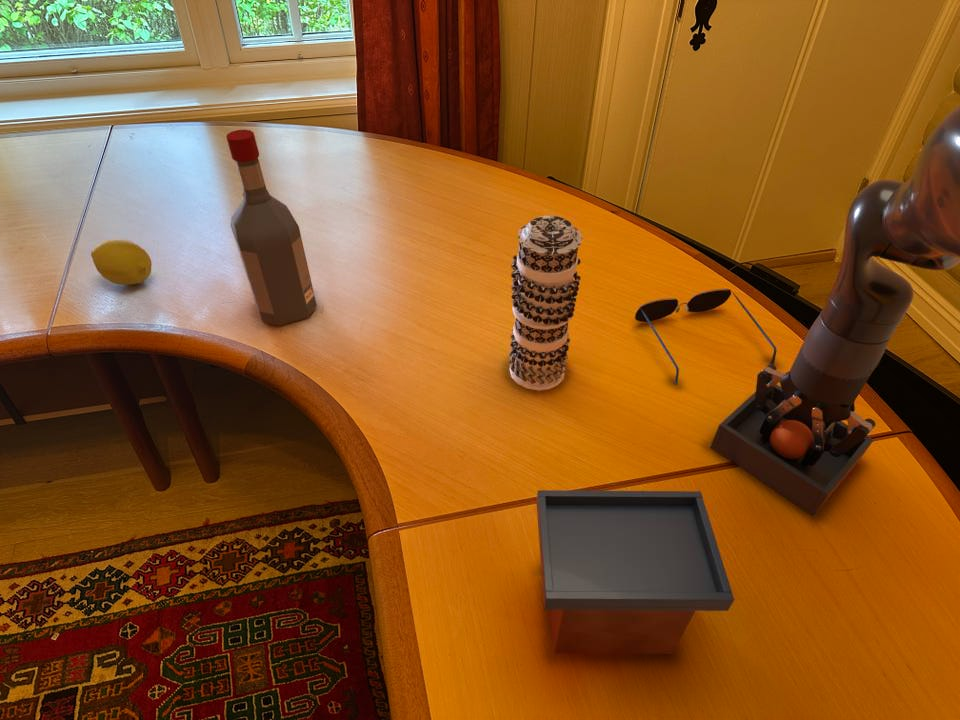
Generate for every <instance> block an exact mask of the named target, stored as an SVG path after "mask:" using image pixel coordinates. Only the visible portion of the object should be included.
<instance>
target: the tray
mask: <svg viewBox="0 0 960 720" xmlns="http://www.w3.org/2000/svg"><path fill="white" fill-rule="evenodd" d="M535 501H536V502H535V503H536V516H537V530H538V542H539V543H538V544H539V557H540V558H539V559H540V572H541V583H542V584H541V587H542V595H543V596H542V599H543V610H544V611H545V610H547V611H551V610H661V611H695V612H728V611H729V610H730V608H731V607H732V605H733V603H734V602H735V596H734V594H733V590H732V588H731V584H730V581H729V578H728V574H727V571H726V568H725V564H724V562H723V558H722V555H721V552H720V548H719V545H718V542H717V540H716V539H717V538H716V536H715V533H714V529H713V527H712V524H711V519H710V517H709V514H708V510H707V507H706V504H705V500H704V498H703V494H702V491H701V490H699V491H698V490H697V491H695V490H692V491H691V490H574V489H573V490H571V489H570V490H561V489H560V490H558V489H557V490H554V489H552V490H550V489H549V490H548V489H547V490H546V489H539V490H538V489H537V493H536V500H535Z"/></svg>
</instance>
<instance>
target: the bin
mask: <svg viewBox="0 0 960 720" xmlns="http://www.w3.org/2000/svg"><path fill="white" fill-rule="evenodd" d="M755 394H756V391H754V392H753V393H752V394H751V395H750V396H748V398H747V399H745V400H744V401H743V402H742V403H741V404H740V405H739V406H738V407H736V409H734V410H733V411H732V412H731V413H730V414H729V415H728V416H727V417H726V418H724V420H722V421H721V422H720V423H719V425H718V427H717V429H716V432H715V434H714V437H713V439H712V441H711V443H710V446H709V447H710V448H711V449H713V450H714V451H716V452H717V453H718V454H720V455H721V456H723V457H724V458H725V459H727V460H729V461H730V462H732V464H735V465H736V466H738V467H739V468H741V469H742V470H744V471H745V472H747V473H748V474H750V475H751V476H753V477H754V478H755V479H757V480H758V481H760V482H762V483H763V484H765V486H767V487H768V488H771V490H773V491H775V492H776V493H778V494H779V495H780V496H782V497H784V498H785V499H786V500H788V501H790V502H791V503H793V504H794V505H796V506H797V507H798V508H800V509H802V510H803V511H805V512H806V513H808V514H809V515H811V516H812V517H814V516H816V514H817V513H818V512H819V511H820V509H821V508H822V507H823V506H824V505H825V503H826V502H827V501H828V500H829V499H830V497H831V496H832V495H833V493H834V492H835V491H836V490H837V489H838V488H839V486H841V484H842V483H843V482H844V480H845V479H846V478H847V477H848V476H849V474H850V473H851V472H852V471H853V470H854V468H855V467H856V466H857V464H859V462H860V461H861V459H862V458H863V456H864V454H866V452H867V451H868V449H869V448H870V446H871V445H872V443H873V442H874V439H873V438H872V437H870V436H868V435H867V436H866V437H865V438H864V439H862V440H861V441H860V442H858V443H857V444H856V445H854V446H853V447H851V448H850V449H849V450H847V451H846V452H845V453H843V454H842V455H841V456H839V457H833V456H832V455H831V454H830V452H826V451H824V453H823V454H822V456H821V458H820V459H819V460H818V461H817V462H816V464H815V465H813V466H810V465H809V464H808V465H807V466H806V467H805V466H803V465H801V464H800V463H801V462H802V460H803V458H804V457H801V458H798V459H788V458H785V457H782V456H781V455H779V454H778V453H777V452H776V451H775V450H774V449H773V447H772V445H771V442H770V438H769V439H768V440H767V441H766V442H765V441H764V440H762V439H761V437H762V435H761V434H760V428H761V426H762V424H763V422H764V420H765V414H764V413H763V412H762V411H758V410H756V409H755V407H754V404H755ZM784 399H785V398H784V394H783V391H782V388H781V385H778V383H777V384H776V385H775V386H774V394H773V402H774V403H775V404H776V405H777V404H779V403H780V402H781V401H783V400H784ZM786 420H795V421H799V422H801V423H803V424H805V425H806V426H807V427H808V428H809V429H810V431H811V432H812V424H810V423H809V422H807V421H806V420H805V419H804V418H803V417H800V416H797V415H795V414H793V413H792V412H790V411H789V412H788V413H786V414H785V415H783V417H782V419H781V421H780V422H783V421H786ZM847 426H848V423H845V422H844V421H839V422H835V426H834V428H833V438H835V439H838V440H839V439H840V438H842V437H843V436H844V435H846V434H847ZM813 439H814V435H813Z"/></svg>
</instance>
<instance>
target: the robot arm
mask: <svg viewBox="0 0 960 720" xmlns="http://www.w3.org/2000/svg"><path fill="white" fill-rule="evenodd" d="M844 227H845V228H844V238H843V250H842V255H841V261H840V266H839V271H838V273H837V276H836V279H835V282H834V284H833V287H832V289H831V291H830V294H829V295H828V297H827V300H826V302H825V303H824V306H823V308H822V310H821V311H820V313H819V315H818V316H817V318H816V319H815V320H814V322H813V323H812V325H811V327H810V328H809V330H808V332H807V334H806V336H805V339H804V341H803V343H802V345H801V347H800V349H799V351H798V353H797V355H796V357H795V359H794V361H793V363H792V365H791V367H790V369H789V371H787V372H783V371H779V370H778V369H777V366H776V365H775V364H772V363H769V364H767V365H766V366H765V367H764V368H763V369H761V370H760V371H759V372H758V373H757V377H756V384H755V385H756V386H755V392H756V394H755V404H754V407H755V409H756V410H758V411H762V412H763V413H764V414H765V420H764V422H763V424H762V426H761V428H760V434H761V435H762V437H761V439H762V440H764V441H765V442H766V441H767V440H768V439H769V438H770V435H771V432H772V430H773V428H774V427H775V426H776V425H777V424H779V423H780V421H781V419H782V417H783V415H785V414H786V413H788V412H789V411H790V412H792V413H793V414H795V415H797V416H800V417H803V418H804V419H805V420H806V421H807V422H809V423H810V424H812V435H814V443H813V444H812V445H811V446H810V448H809V450H808V451H807V453H806V455H805V456H804V458H803V460H802V462H801V463H800V464H801V465H803V466H805V467H806V466H807V465H808V464H809V465H810V466H813V465H815V464H816V462H817V461H818V460H819V459H820V458H821V456H822V454H823V453H824V451H826V452H830V454H831V455H832V456H833V457H839V456H841V455H842V454H843V453H845V452H846V451H847V450H849V449H850V448H851V447H853V446H854V445H856V444H857V443H858V442H860V441H861V440H862V439H864V438H865V437H866V436H868V435H869V434H870V433H871V431H873V429H874V428H875V427H876V422H875V421H874V419H872V418H863V417H862V416H861V415H859V414H858V413H857V412H855V411H856V407H855V402H856V400H857V398H858V397H859V394H861V392H862V390H863V388H864V387H865V385H866V384H867V382H868V380H869V378H870V377H871V375H872V374H873V372H874V370H875V369H876V368H878V366H879V364H880V363H881V360H882V358H883V356H884V353H885V352H886V349H887V347H888V344H889V342H890V340H891V337H892V336H893V335H894V333H895V331H896V330H897V328H898V326H899V325H900V323H901V321H902V320H903V318H904V316H905V315H906V313H907V312H908V310H909V309H910V306H911V304H912V302H913V299H914V294H915V292H914V288H913V286H912V285H911V283H910V282H909V281H908V280H907V279H906V278H905V277H904V276H902V275H900V274H899V273H897V272H896V271H894V270H892V269H890V268H887V267H886V266H884V265H882V264H881V263H879V262H877V261H876V260H875V258H879V259H883V260H887V261H892V262H896V263H898V264H899V263H900V264H903V265H907V266H912V267H914V268H915V267H916V268H919V269H924V270H929V271H948V270H950V269H952V268H954V267H956V266H957V265H958V264H959V263H960V105H958V106H957V107H955V108H954V109H953V110H952V111H950V112H949V113H948V114H947V115H946V116H944V118H943V119H942V120H941V121H940V122H939V123H938V124H937V125H936V127H934V129H933V130H932V131H931V133H930V134H929V136H928V138H927V139H926V141H925V143H924V144H923V146H922V149H921V151H920V153H919V155H918V159H917V161H916V164H915V168H914V170H913V173H912V175H911V177H910V178H909V179H908V180H906V181H905V182H904V181H898V180H895V179H880V180H876V181H874V182H873V181H872V182H871V183H869V184H868V185H866V186H865V187H864V188H862V189H861V190H860V191H859V192H858V193H857V194H856V195H855V196H854V198H853V200H852V201H851V204H850V205H849V208H848V211H847V214H846V219H845V226H844ZM874 257H875V258H874ZM776 384H777V385H778V384H780V385H779V386H780V387H781V388H782V391H783V394H784V398H785V399H784V400H783V401H781V402H780V403H779V404H777V405H776V404H775V403H774V402H773V394H774V386H775V385H776ZM839 421H842V422H844V421H846V422H847V425H848V426H847V434H846V435H844V436H843V437H842V438H840V439H839V440H838V439H835V438H833V428H834V426H835V422H839Z"/></svg>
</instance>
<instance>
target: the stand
mask: <svg viewBox="0 0 960 720" xmlns="http://www.w3.org/2000/svg"><path fill="white" fill-rule="evenodd" d="M695 613H696V611H661V610H550V616H551V628H552V629H551V630H552V644H553V653H554V654H583V655H584V654H589V655H591V654H593V655H596V654H599V655H601V654H603V655H605V654H606V655H607V654H608V655H613V654H614V655H673V653H674V651H675V650H676V647H677V646H678V644H679V642H680V640H681V639H682V637H683V635H684V633H685V631H686V629H687V628H688V626H689V624H690V622H691V621H692V619H693V616H694V615H695Z"/></svg>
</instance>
